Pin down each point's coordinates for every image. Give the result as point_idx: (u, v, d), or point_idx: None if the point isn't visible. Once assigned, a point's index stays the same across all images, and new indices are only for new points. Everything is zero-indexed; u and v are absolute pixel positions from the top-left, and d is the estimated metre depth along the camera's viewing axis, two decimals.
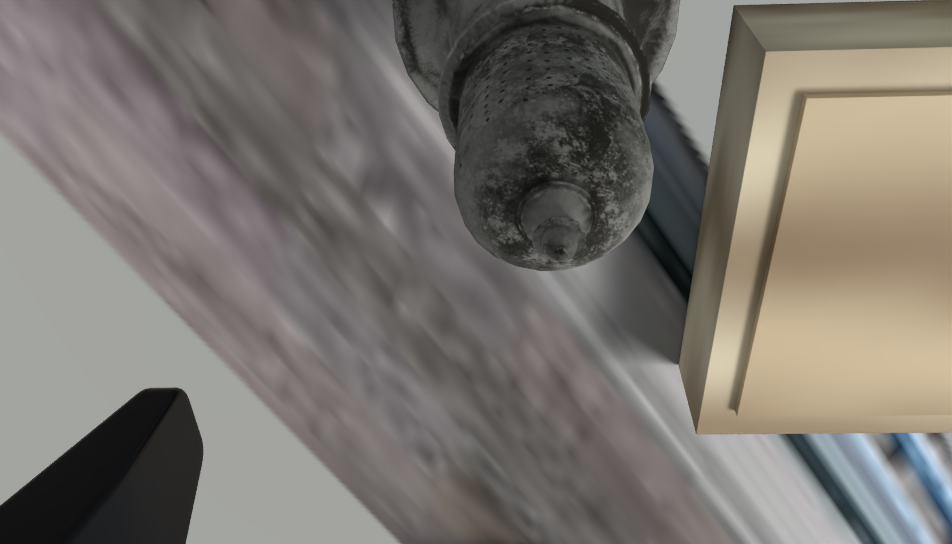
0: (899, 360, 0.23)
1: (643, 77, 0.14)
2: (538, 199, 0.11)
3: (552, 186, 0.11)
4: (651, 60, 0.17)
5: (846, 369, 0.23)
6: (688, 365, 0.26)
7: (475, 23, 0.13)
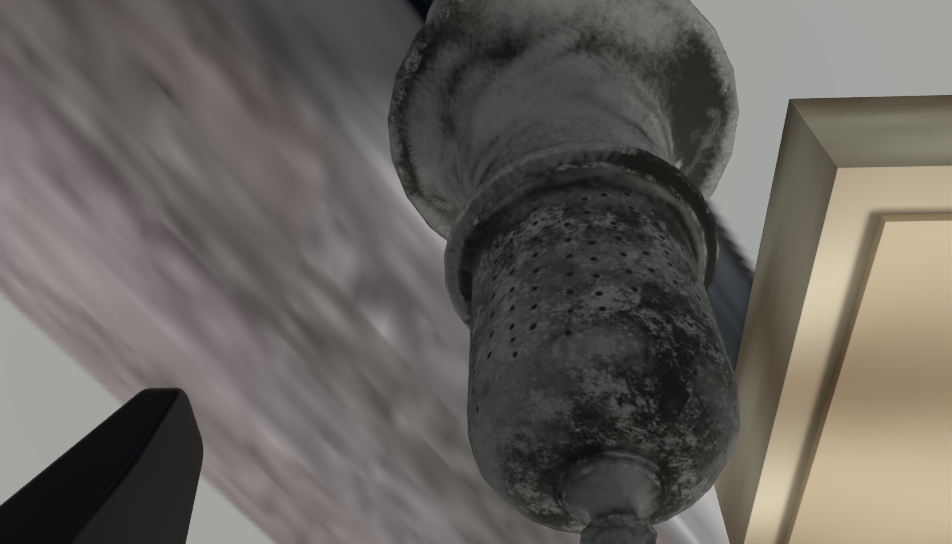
0: None
1: (709, 245, 0.10)
2: (587, 477, 0.08)
3: (606, 459, 0.08)
4: (700, 183, 0.14)
5: (914, 508, 0.20)
6: (726, 486, 0.23)
7: (493, 182, 0.10)
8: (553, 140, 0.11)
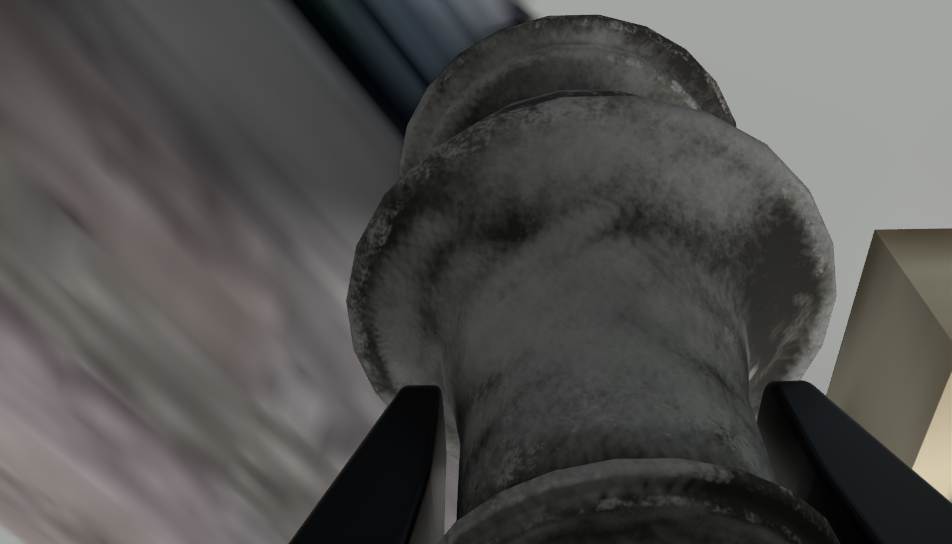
0: None
1: None
2: None
3: None
4: None
5: None
6: None
7: (493, 514, 0.06)
8: (587, 417, 0.07)
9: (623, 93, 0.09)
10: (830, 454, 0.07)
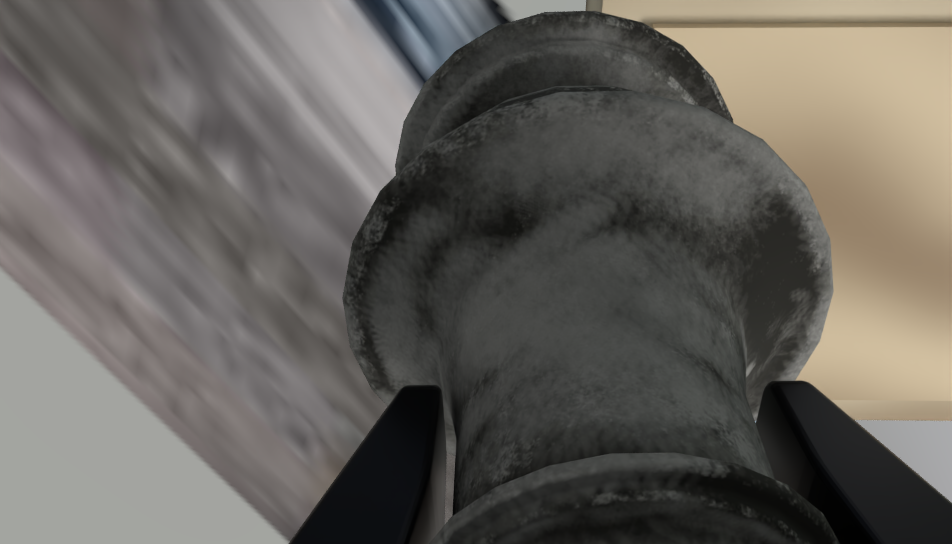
0: None
1: None
2: None
3: None
4: (775, 378, 0.10)
5: None
6: None
7: (488, 509, 0.06)
8: (582, 412, 0.07)
9: (620, 88, 0.09)
10: (830, 454, 0.07)
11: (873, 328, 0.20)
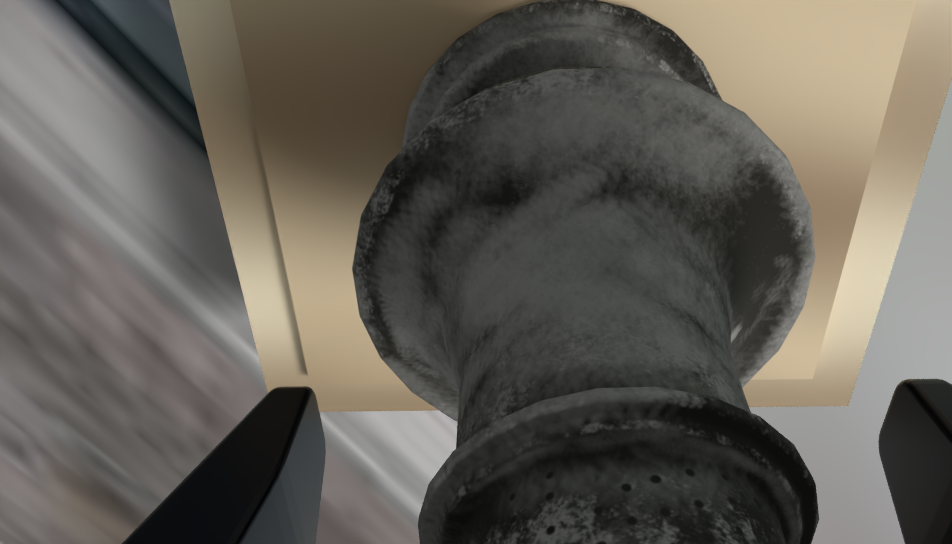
0: None
1: (805, 515, 0.07)
2: None
3: None
4: (762, 342, 0.11)
5: None
6: None
7: (486, 440, 0.07)
8: (573, 358, 0.07)
9: (610, 68, 0.10)
10: None
11: None
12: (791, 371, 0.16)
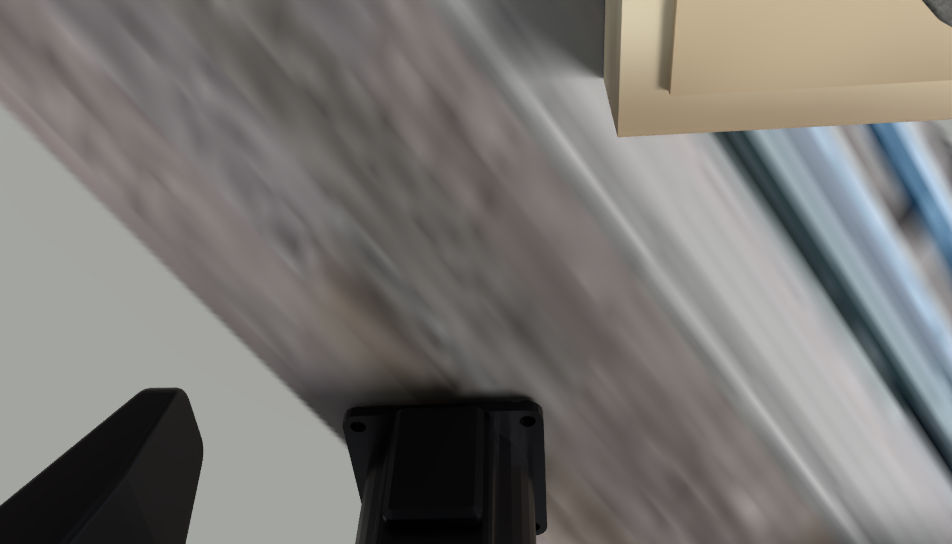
0: None
1: None
2: None
3: None
4: None
5: None
6: (609, 56, 0.19)
7: None
8: None
9: None
10: None
11: None
12: None
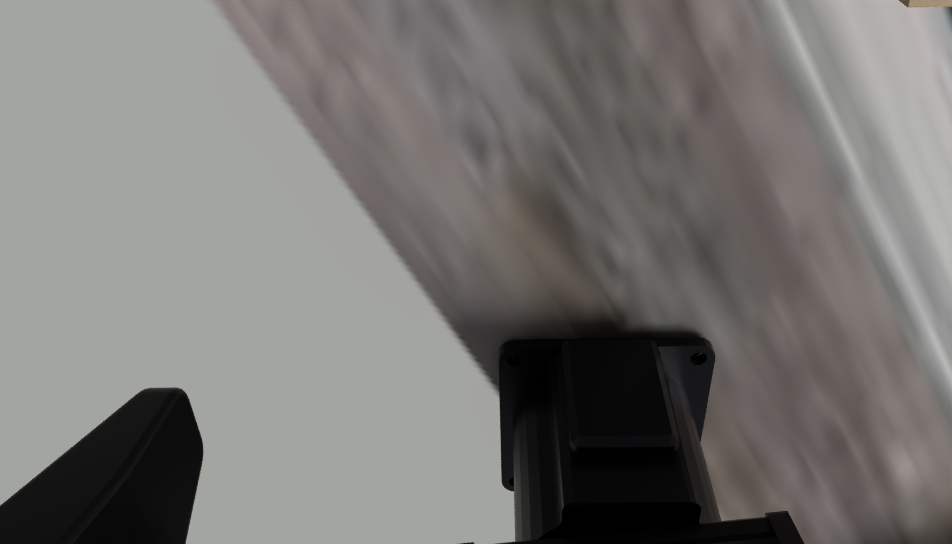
0: None
1: None
2: None
3: None
4: None
5: None
6: None
7: None
8: None
9: None
10: None
11: None
12: None
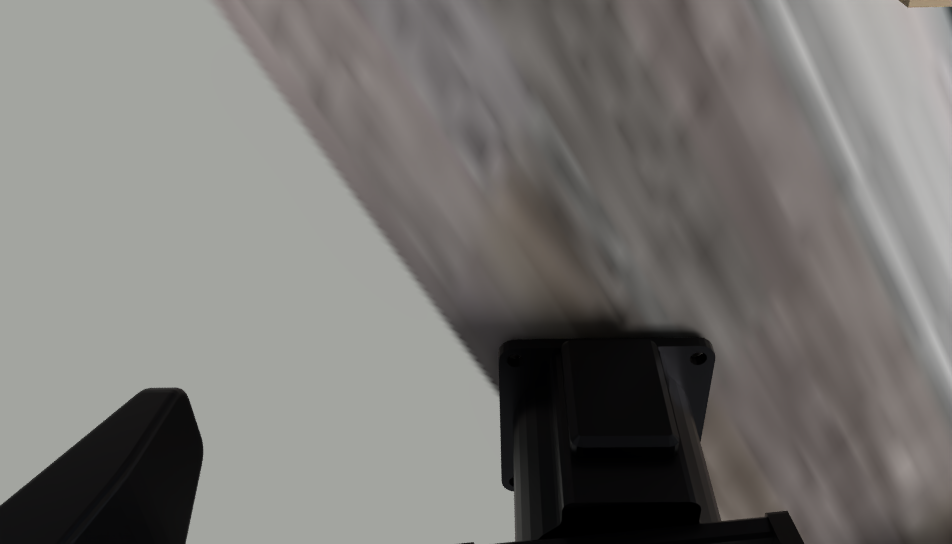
0: None
1: None
2: None
3: None
4: None
5: None
6: None
7: None
8: None
9: None
10: None
11: None
12: None
